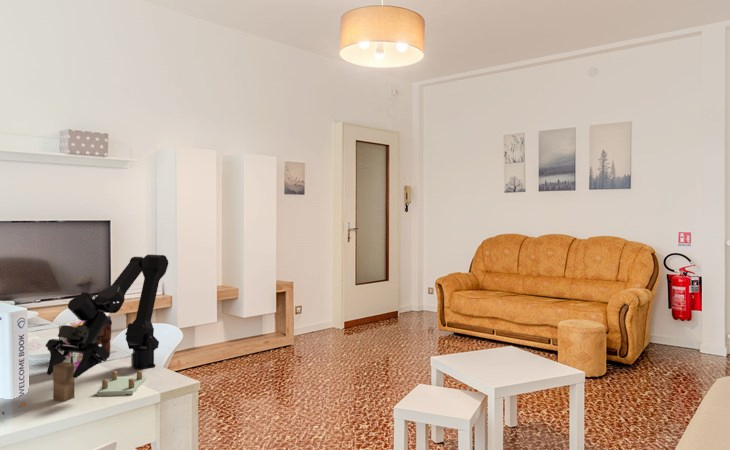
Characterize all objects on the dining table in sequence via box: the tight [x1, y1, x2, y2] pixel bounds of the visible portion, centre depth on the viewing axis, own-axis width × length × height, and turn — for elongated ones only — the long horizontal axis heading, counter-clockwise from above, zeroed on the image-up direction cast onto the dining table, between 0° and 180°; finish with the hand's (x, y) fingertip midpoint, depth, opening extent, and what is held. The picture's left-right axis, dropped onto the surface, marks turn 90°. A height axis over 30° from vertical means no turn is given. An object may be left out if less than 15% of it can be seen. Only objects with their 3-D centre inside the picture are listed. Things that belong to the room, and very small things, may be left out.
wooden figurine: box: [94, 312, 112, 357], centre depth 195 cm, size 12×6×18 cm, turn 109°
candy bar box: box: [58, 318, 84, 372], centre depth 180 cm, size 11×5×16 cm, turn 178°
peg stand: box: [96, 369, 147, 397], centre depth 164 cm, size 14×10×4 cm
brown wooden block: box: [52, 362, 75, 403], centre depth 153 cm, size 4×4×10 cm
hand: (60, 375), depth 152 cm, fingers open, 9 cm apart
